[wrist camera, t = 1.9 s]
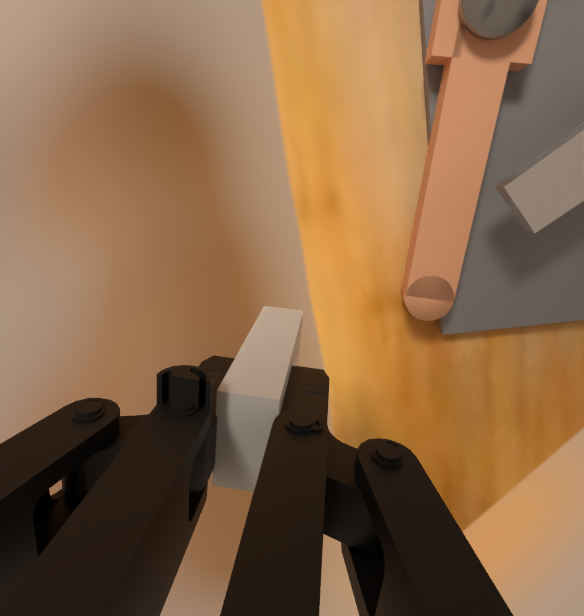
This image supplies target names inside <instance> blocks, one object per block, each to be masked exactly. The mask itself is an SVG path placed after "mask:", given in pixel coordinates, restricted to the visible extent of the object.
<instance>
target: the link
mask: <svg viewBox="0 0 584 616" xmlns="http://www.w3.org/2000/svg"><path fill="white" fill-rule="evenodd" d="M546 4H547V0H539V1H538V4H537V6H536V8H535V10H534V12H533V13H532V15H531V16H530V17H529V19H528V20H527V21H526V22H525V23H524V24H523V25H522V26H520V27H519V28H518V29H517V30H515V31H514V32H513V33H511V34H510V35H508V36H506V37H504V38H501V39H497V40H483V39H479V38H477V37H475V36H473V35H472V34H471V33H470V32H469V31H468V30H467V29H466V28H465V27H464V25H463V23H462V20H461V18H460V14H459V0H436V3H435V8H434V14H433V20H432V25H431V31H430V37H429V42H428V48H427V53H426V59H425V64H432V65H444V68H443V73H442V78H441V83H440V89H439V94H438V99H437V104H436V110H435V115H434V120H433V125H432V131H431V136H430V141H429V146H428V152H427V157H426V162H425V167H424V172H423V178H422V183H421V188H420V193H419V199H418V204H417V209H416V214H415V220H414V225H413V230H412V235H411V241H410V246H409V251H408V256H407V261H406V267H405V272H404V277H403V282H402V288H401V294H402V298H403V300H404V302H405V305H406V307H407V309H408V311H409V312H410V313H411V314H412V315H413V316H414V317H415V318H417V319H420V320H423V321H433V320H437V319H439V318H441V317H443V316H444V315H446V314H447V313H448V312H449V310H450V309H451V307H452V305H453V302H454V298H455V294H456V290H457V285H458V281H459V277H460V273H461V268H462V264H463V260H464V256H465V251H466V247H467V243H468V239H469V234H470V230H471V226H472V222H473V217H474V213H475V209H476V205H477V200H478V196H479V192H480V188H481V183H482V179H483V175H484V171H485V167H486V162H487V158H488V154H489V150H490V145H491V141H492V137H493V133H494V128H495V124H496V120H497V116H498V111H499V107H500V103H501V99H502V94H503V90H504V86H505V82H506V77H507V73H508V71H514V72H517V71H519V70H521V69H523V68H525V67H527V66H529V65H530V64H532V60H533V56H534V52H535V48H536V44H537V40H538V36H539V32H540V28H541V24H542V20H543V16H544V12H545V8H546Z"/></svg>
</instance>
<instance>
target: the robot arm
mask: <svg viewBox="0 0 584 616" xmlns="http://www.w3.org/2000/svg"><path fill="white" fill-rule="evenodd" d="M302 318H303V311H300V310H292V309H284V308H276V307H269V306H264V308H263V309H262V311H261V313H260V315H259V316H258V318H257V320H256V322H255V324H254V326H253V327H252V329H251V331H250V332H249V334H248V336H247V338H246V340H245V341H244V343H243V345H242V347H241V349H240V350H239V352H238V354H237V356H236V357H235V359H234V358H227V357H219V356H212V357H210V358H208V359H206V360H204V361H202V363H201V364H200V365H199V367H196V366H190V365H181V366H173V367H169V368H166V369H164V370H162V371H160V372H159V373H158V374H157V405H156V406H155V408H154V409H153V410H152V411H151V413H150V414H148V415H137V416H120V408H119V407H118V405H117V404H116V403H115V402H113V401H111V400H108V399H102V398H87V399H83V400H79V401H75V402H73V403H71V404H69V405H66V406H65V407H63V408H61V409H60V410H58V411H56V412H54V413H53V414H51V415H49V416H47V417H46V418H44V419H43V420H41V421H39V422H37V423H35V424H34V425H32V426H30V427H28V428H27V429H25V430H23V431H22V432H20V433H18V434H16V435H15V436H13V437H11V438H10V439H8V440H6V441H5V442H3V443H1V444H0V616H160V614H161V611H162V608H163V606H164V604H165V601H166V599H167V596H168V594H169V591H170V589H171V586H172V584H173V581H174V579H175V576H176V574H177V571H178V569H179V566H180V564H181V561H182V559H183V557H184V554H185V552H186V549H187V547H188V544H189V541H190V539H191V537H192V534H193V532H194V529H195V527H196V524H197V522H198V519H199V517H200V514H201V512H202V509H203V507H204V504H205V502H206V498H207V485H208V480H209V477H210V475H211V473H212V470H213V480H212V485H216V486H222V487H228V488H234V489H240V490H246V491H253V492H254V494H253V497H252V501H251V505H250V508H249V512H248V515H247V519H246V523H245V527H244V530H243V534H242V537H241V541H240V545H239V548H238V552H237V556H236V559H235V563H234V567H233V571H232V574H231V578H230V581H229V585H228V589H227V592H226V596H225V600H224V604H223V607H222V611H221V614H220V616H319V605H320V586H321V566H322V565H321V564H322V546H323V534H325V535H327V536H329V537H331V538H334V539H336V540H338V541H340V542H341V547H342V554H343V557H344V561H345V564H346V568H347V572H348V575H349V579H350V583H351V586H352V590H353V594H354V597H355V601H356V605H357V609H358V612H359V616H513V614H512V613H511V611H510V609H509V608H508V606H507V604H506V603H505V601H504V600H503V598H502V596H501V595H500V593H499V591H498V590H497V588H496V586H495V585H494V583H493V582H492V580H491V579H490V577H489V575H488V573H487V572H486V570H485V569H484V567H483V565H482V564H481V562H480V560H479V559H478V557H477V556H476V554H475V552H474V550H473V549H472V547H471V546H470V544H469V542H468V541H467V539H466V537H465V536H464V534H463V532H462V531H461V529H460V528H459V526H458V524H457V523H456V521H455V519H454V518H453V516H452V514H451V513H450V511H449V510H448V508H447V506H446V505H445V503H444V501H443V500H442V498H441V496H440V495H439V493H438V492H437V490H436V488H435V487H434V485H433V483H432V482H431V480H430V478H429V477H428V475H427V474H426V472H425V470H424V469H423V467H422V465H421V464H420V462H419V460H418V459H417V457H416V456H415V455H414V454H413V453H412V452H411V450H410V449H408V448H406V447H405V446H403V445H402V444H400V443H397V442H395V441H392V440H388V439H379V438H377V439H369V440H367V441H365V442H363V443H361V444H360V446H359V448H358V449H357V448H354V447H351V446H349V445H347V444H344V443H342V442H341V441H339V440H338V439H336V438H335V437H334V436H333V435H332V434H331V433H330V431H329V430H328V426H327V414H328V395H329V377H328V376H327V374H326V373H325V371H324V370H321V369H314V368H307V367H300V366H297V361H298V353H299V344H300V336H301V327H302ZM61 479H62V489H61V490H60V491H58V492H57V493H55V494H53V495H52V496H50V493H49V488H50V487H52V486H53V485H54V484H56V483H57V482H58V481H59V480H61Z"/></svg>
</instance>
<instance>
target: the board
mask: <svg viewBox="0 0 584 616" xmlns="http://www.w3.org/2000/svg"><path fill="white" fill-rule="evenodd" d="M435 3H436V0H419V9H420V25H421V41H422V57H423V73H424V89H425V105H426V120H427V136H428V146H429V141H430V136H431V131H432V125H433V120H434V115H435V110H436V104H437V99H438V94H439V89H440V83H441V78H442V73H443V68H444V65H432V64H425V59H426V53H427V48H428V42H429V37H430V31H431V25H432V20H433V14H434V8H435ZM582 122H584V0H547V4H546V8H545V12H544V16H543V20H542V24H541V28H540V32H539V36H538V40H537V44H536V48H535V52H534V56H533V60H532V64H530V65H529V66H527V67H525V68H523V69H521V70H519V71H517V72H514V71H508V73H507V77H506V82H505V86H504V90H503V94H502V99H501V103H500V107H499V111H498V116H497V120H496V124H495V128H494V133H493V137H492V141H491V145H490V150H489V154H488V158H487V162H486V167H485V171H484V175H483V179H482V183H481V188H480V192H479V196H478V200H477V205H476V209H475V213H474V217H473V222H472V226H471V230H470V234H469V239H468V243H467V247H466V251H465V256H464V260H463V264H462V268H461V273H460V277H459V281H458V285H457V290H456V294H455V298H454V302H453V305H452V307H451V309H450V310H449V312H448V313H447V314H446V315H444V316H443V317H441V318H439V328H440V330H441V332H442V334H443V335H447V334H456V333H466V332H475V331H485V330H494V329H504V328H513V327H523V326H533V325H542V324H552V323H561V322H571V321H580V320H584V201H583V202H581V203H580V204H578V205H577V206H575V207H574V208H572V209H571V210H569V211H568V212H566V213H565V214H563V215H562V216H560V217H559V218H557V219H556V220H554V221H553V222H551V223H550V224H548V225H547V226H545V227H544V228H542V229H541V230H539V231H538V232H536V233H533V232H530V231H527V230H524V228H523V227H522V226H521V224H520V223H519V221H518V220H517V218H516V217H515V215H514V214H513V212H512V211H511V209H510V208H509V206H508V205H507V203H506V202H505V200H504V199H503V197H502V196H501V194H500V193H499V191H498V190H497V188H496V187H495V185H497V184H498V183H500V182H501V181H502V180H504V179H505V178H506V177H508V176H509V175H511V174H512V173H513V172H515V171H516V170H517V169H519V168H520V167H522V166H523V165H524V164H526V163H527V162H529V161H530V160H531V159H533V158H534V157H535V156H537V155H538V154H540V153H541V152H542V151H544V150H545V149H546V148H548V147H549V146H551V145H552V144H553V143H555V142H556V141H558V140H559V139H560V138H562V137H563V136H564V135H566V134H567V133H569V132H570V131H571V130H573V129H574V128H575V127H577V126H578V125H580V124H581V123H582Z"/></svg>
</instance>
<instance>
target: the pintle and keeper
mask: <svg viewBox="0 0 584 616" xmlns="http://www.w3.org/2000/svg"><path fill="white" fill-rule="evenodd" d="M538 1H539V0H459V14H460V18H461V20H462V23H463V25H464V27H465V28H466V29H467V30H468V31H469V32H470V33H471V34H472V35H473V36H475V37H477V38H479V39H483V40H497V39H501V38H504V37H506V36H508V35H510V34H511V33H513V32H514V31H515V30H517V29H518V28H519V27H520V26H522V25H523V24H524V23H525V22H526V21H527V20H528V19H529V17H530V16H531V15H532V13H533V12H534V10H535V8H536V6H537V4H538ZM495 187H496V188H497V190H498V191H499V193H500V194H501V196H502V197H503V199H504V200H505V202H506V203H507V205H508V206H509V208H510V209H511V211H512V212H513V214H514V215H515V217H516V218H517V220H518V221H519V223H520V224H521V226H522V227H523V228H524V230H527V231H530V232H533V233H536V232H538V231H539V230H541V229H542V228H544V227H545V226H547V225H548V224H550V223H551V222H553V221H554V220H556V219H557V218H559V217H560V216H562V215H563V214H565V213H566V212H568V211H569V210H571V209H572V208H574V207H575V206H577V205H578V204H580V203H581V202H583V201H584V122H582V123H581V124H580V125H578V126H577V127H575V128H574V129H573V130H571V131H570V132H569V133H567V134H566V135H564V136H563V137H562V138H560V139H559V140H558V141H556V142H555V143H553V144H552V145H551V146H549V147H548V148H546V149H545V150H544V151H542V152H541V153H540V154H538V155H537V156H535V157H534V158H533V159H531V160H530V161H529V162H527V163H526V164H524V165H523V166H522V167H520V168H519V169H517V170H516V171H515V172H513V173H512V174H511V175H509V176H508V177H506V178H505V179H504V180H502V181H501V182H500V183H498V184H497V185H495Z"/></svg>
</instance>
